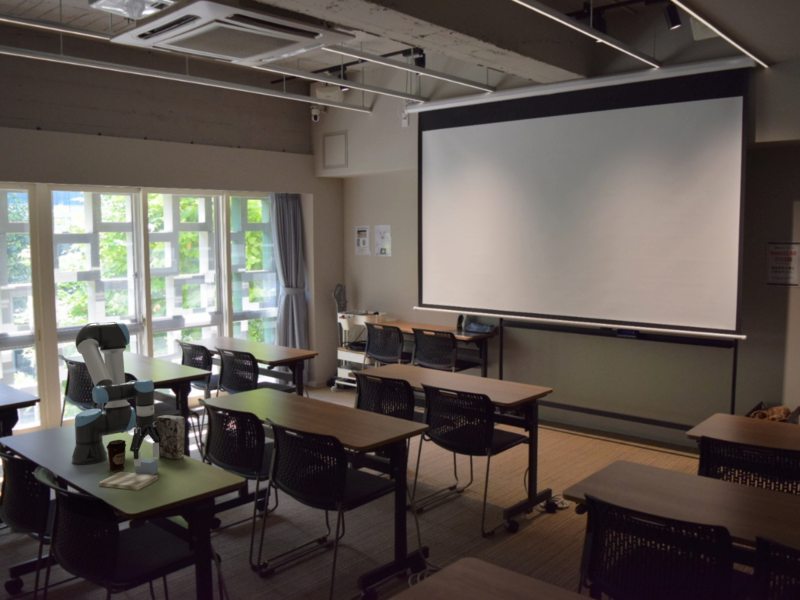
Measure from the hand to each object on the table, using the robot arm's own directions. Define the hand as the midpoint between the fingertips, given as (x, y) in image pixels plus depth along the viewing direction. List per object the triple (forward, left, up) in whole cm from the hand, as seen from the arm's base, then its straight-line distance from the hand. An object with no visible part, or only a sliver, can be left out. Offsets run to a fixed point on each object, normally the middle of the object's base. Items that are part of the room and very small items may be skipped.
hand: (147, 461), depth 299 cm
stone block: (-3, +23, -6) cm, 24 cm away
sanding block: (0, 0, -6) cm, 6 cm away
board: (-1, -12, -6) cm, 13 cm away
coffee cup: (-16, +1, -6) cm, 17 cm away
